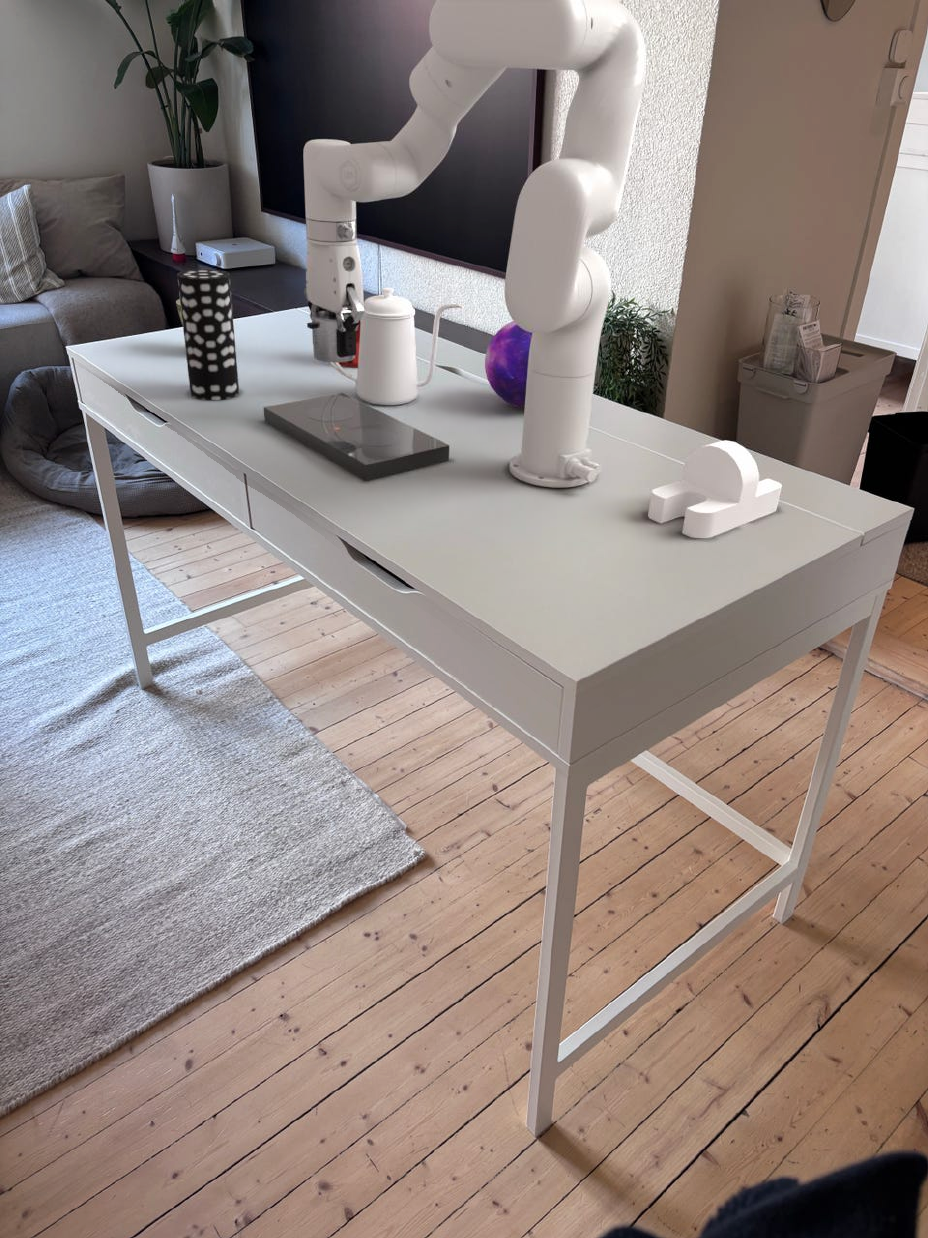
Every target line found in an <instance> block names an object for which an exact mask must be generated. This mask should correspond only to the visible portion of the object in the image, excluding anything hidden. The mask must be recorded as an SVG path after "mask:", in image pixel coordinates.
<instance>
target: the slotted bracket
mask: <svg viewBox="0 0 928 1238" xmlns="http://www.w3.org/2000/svg"><path fill="white" fill-rule="evenodd" d="M782 488H783V485H782V483H780V482H779V481H776V480H774V479H771V478H766V479H762V480H760V473H759V469H758V464H757V462H756V460H755V458H754V457H753V455H752V454H751V453H750V451H748V449H746V447H745V446H743V445H741V444H739V443H738V442H736V441H731V440H726V439H725V440H720V441H716V442H712V443H709V444H706V445H702V446H699V447H698V448H696V449H695V450H693V451H691V452H690V453H689V455H688V456H687V458H686V459H685V462H684V465H683V470H682V476H681V480H677V481H674V482H671V483H668V484H665V485H662V486H658V487H656V488H653V489H652V490H651V495H650V501H649V506H648V513H647V517H648V518H649V519H650V520H652V521H654V522H656V523H658V524H664V523H666V522H669V521H672V520H674V519H678V518H682V517H684V521H683V525H682V532H681V534H683V535H685V536H687V537H689V538H693V539H710V538H713V537H715V536H718V535H721V534H723V533H725V532H728V531H730V530H732V529H735V528H738V527H740V526H743V525H745V524H748V523H750V522H753V521H755V520H758V519H761V518H763V517H765V516H768V515H770V514H773V513H775V512H776V511H777V510H778V509H777V508H778V505H779V502H780V501H779V500H780V496H781V491H782Z"/></svg>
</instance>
